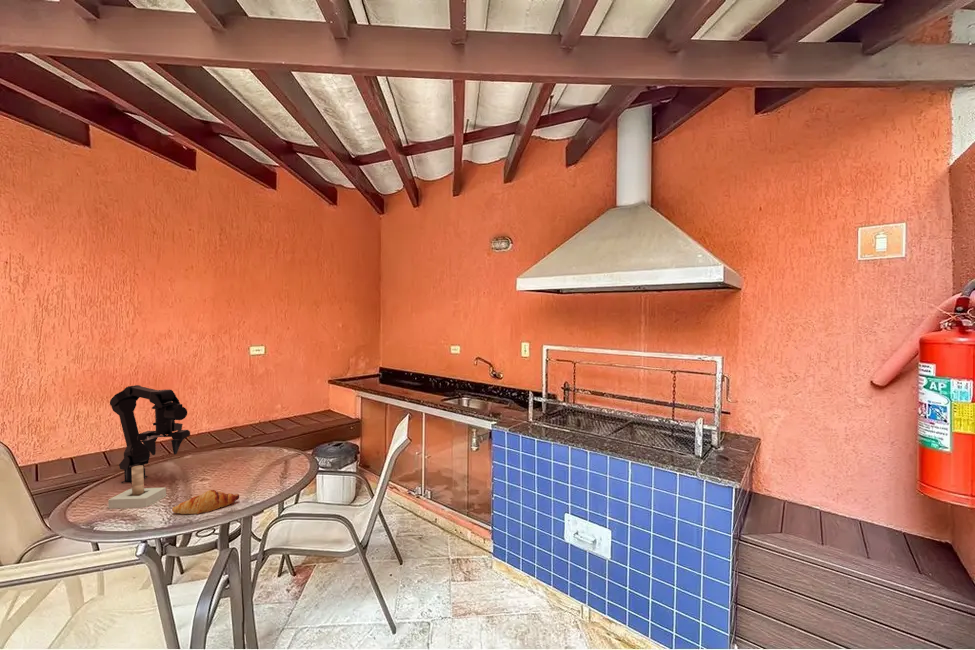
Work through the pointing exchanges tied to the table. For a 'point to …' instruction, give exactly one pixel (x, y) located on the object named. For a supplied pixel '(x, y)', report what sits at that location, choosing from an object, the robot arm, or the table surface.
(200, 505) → the croissant
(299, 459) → the table surface
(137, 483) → the peg
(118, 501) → the socket block
